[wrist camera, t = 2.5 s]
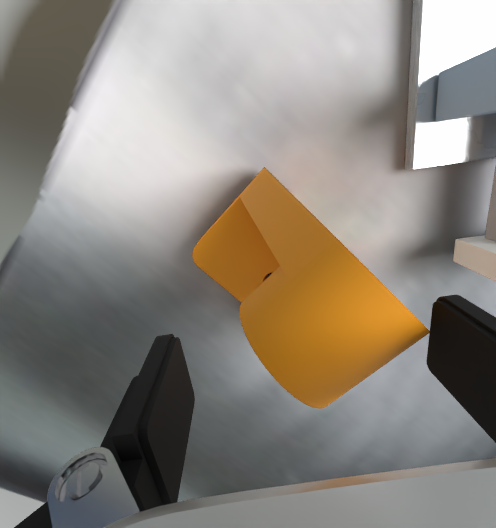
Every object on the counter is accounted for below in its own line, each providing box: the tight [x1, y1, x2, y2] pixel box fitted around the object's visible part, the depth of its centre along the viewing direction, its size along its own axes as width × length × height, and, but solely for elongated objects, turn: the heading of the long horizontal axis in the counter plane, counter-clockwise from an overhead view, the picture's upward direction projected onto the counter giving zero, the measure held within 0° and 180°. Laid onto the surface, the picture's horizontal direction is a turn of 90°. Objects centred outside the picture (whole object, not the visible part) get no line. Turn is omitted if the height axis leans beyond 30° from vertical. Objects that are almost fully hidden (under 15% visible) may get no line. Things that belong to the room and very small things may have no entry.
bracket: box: [192, 167, 430, 409], centre depth 15 cm, size 11×7×12 cm, turn 47°
